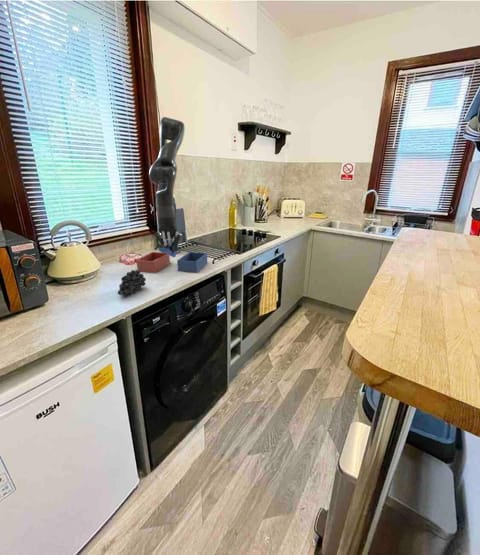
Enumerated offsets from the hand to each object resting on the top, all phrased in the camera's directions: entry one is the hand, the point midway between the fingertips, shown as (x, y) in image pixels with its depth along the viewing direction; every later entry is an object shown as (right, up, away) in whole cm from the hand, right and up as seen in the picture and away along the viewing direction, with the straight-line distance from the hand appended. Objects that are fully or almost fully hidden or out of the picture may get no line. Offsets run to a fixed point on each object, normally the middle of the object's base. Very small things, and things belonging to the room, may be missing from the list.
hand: (169, 253), depth 126 cm
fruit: (-14, -17, -11) cm, 25 cm away
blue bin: (+8, -5, +19) cm, 21 cm away
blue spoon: (0, 0, -1) cm, 1 cm away
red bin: (-13, -5, +19) cm, 23 cm away
